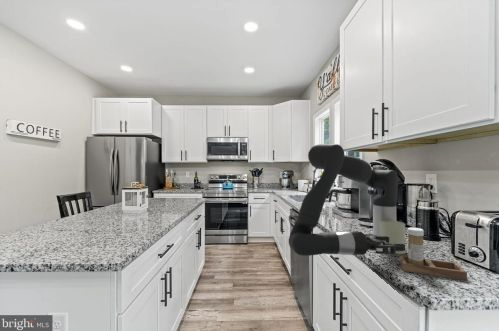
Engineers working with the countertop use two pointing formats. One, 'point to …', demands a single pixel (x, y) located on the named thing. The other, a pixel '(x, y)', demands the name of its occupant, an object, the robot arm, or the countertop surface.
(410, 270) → the holder
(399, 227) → the can
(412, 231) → the sprinkles bottle
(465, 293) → the countertop surface
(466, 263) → the countertop surface
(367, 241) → the robot arm
